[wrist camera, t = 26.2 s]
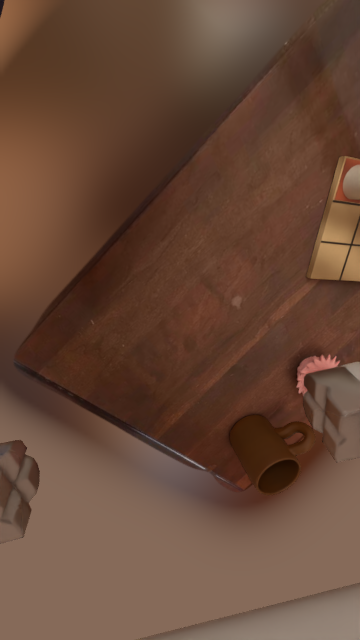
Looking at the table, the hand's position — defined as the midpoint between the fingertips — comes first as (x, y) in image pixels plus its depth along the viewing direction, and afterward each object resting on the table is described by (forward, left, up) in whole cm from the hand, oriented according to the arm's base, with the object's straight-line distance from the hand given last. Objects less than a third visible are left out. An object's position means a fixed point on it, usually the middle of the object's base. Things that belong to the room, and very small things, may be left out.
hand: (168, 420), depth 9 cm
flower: (+16, +31, -28) cm, 45 cm away
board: (-6, +34, -28) cm, 45 cm away
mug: (+27, +25, -28) cm, 47 cm away
